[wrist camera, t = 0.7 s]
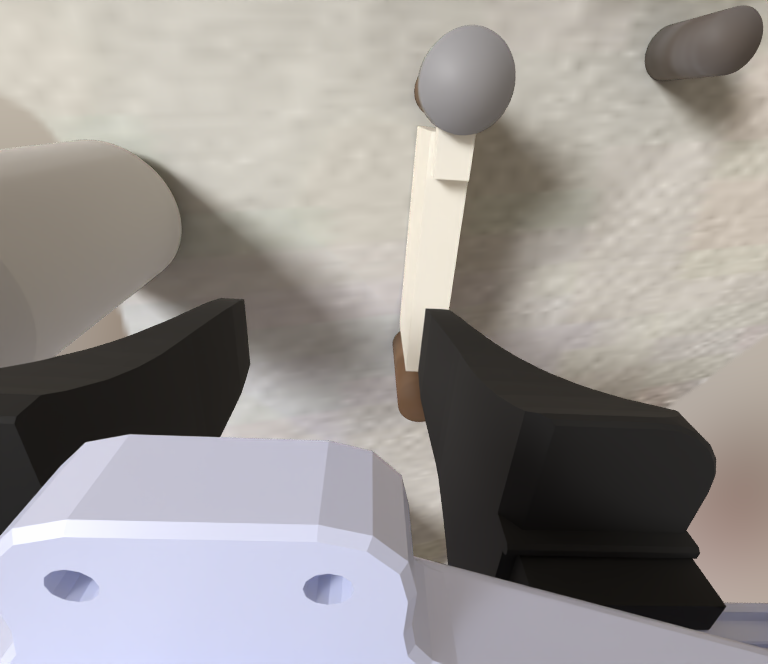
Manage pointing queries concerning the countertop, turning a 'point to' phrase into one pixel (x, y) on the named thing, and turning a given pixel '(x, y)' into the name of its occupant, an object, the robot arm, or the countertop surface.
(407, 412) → the posts
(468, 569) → the robot arm
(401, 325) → the gate
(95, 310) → the beverage can
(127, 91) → the countertop surface
